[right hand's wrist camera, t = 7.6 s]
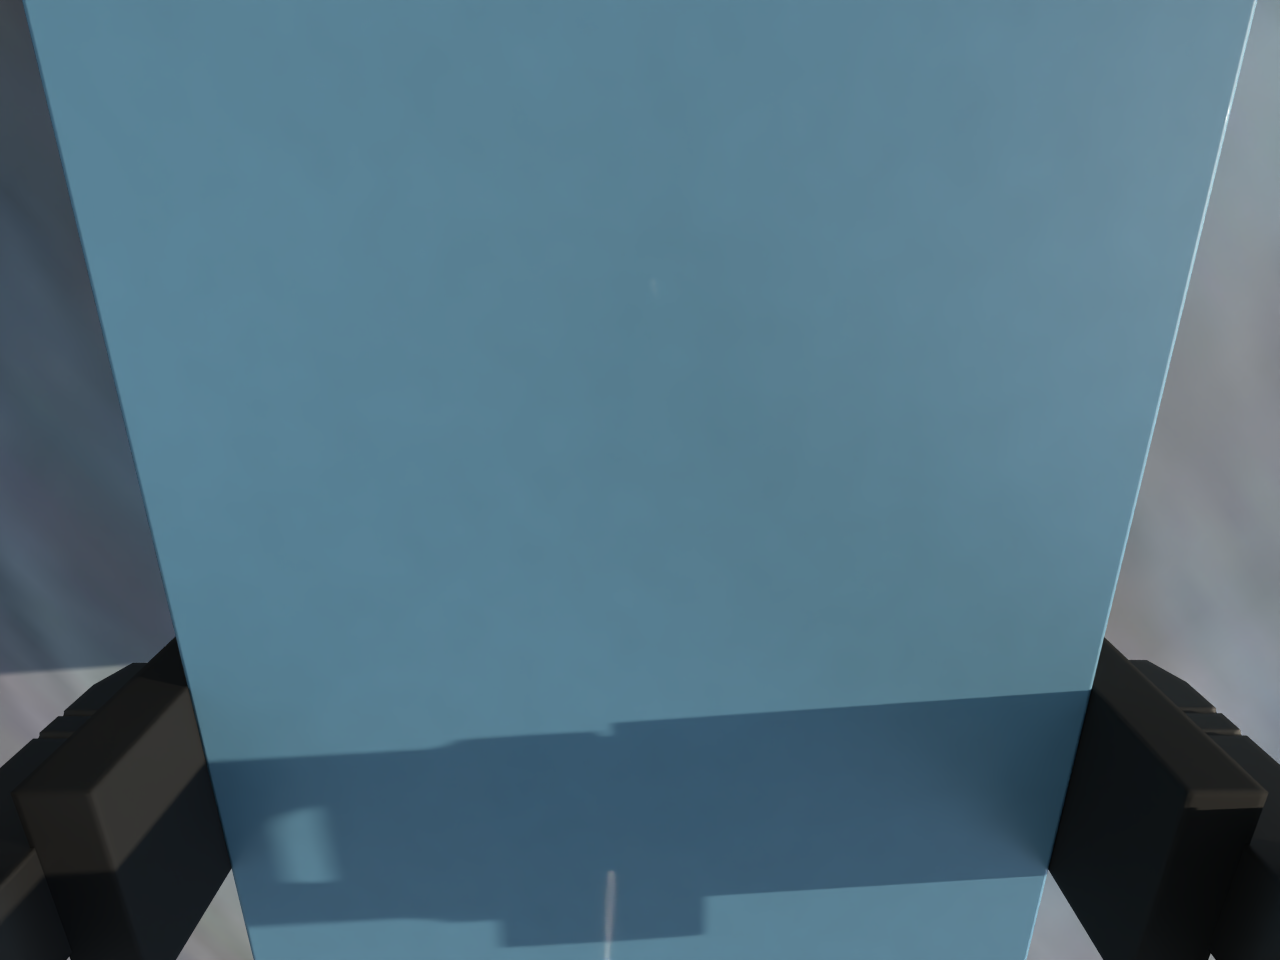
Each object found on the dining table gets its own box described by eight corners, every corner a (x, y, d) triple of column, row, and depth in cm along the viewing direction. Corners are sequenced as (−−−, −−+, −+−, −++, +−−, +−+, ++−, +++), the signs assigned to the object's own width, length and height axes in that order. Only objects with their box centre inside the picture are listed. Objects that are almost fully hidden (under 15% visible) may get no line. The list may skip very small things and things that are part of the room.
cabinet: (326, -491, 13) (-593, -2508, 3) (955, -493, 12) (1880, -2543, 3) (440, 615, 20) (257, 989, 10) (841, 616, 20) (1022, 991, 10)
